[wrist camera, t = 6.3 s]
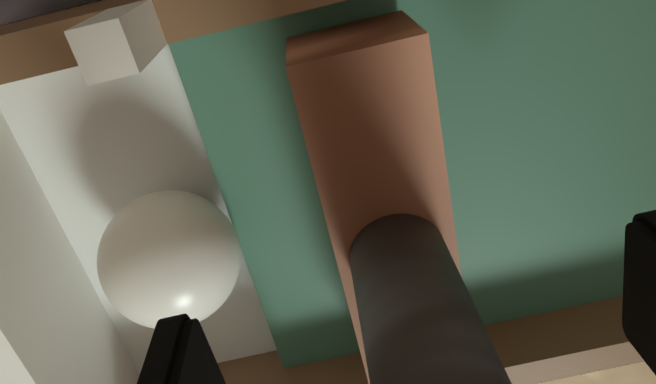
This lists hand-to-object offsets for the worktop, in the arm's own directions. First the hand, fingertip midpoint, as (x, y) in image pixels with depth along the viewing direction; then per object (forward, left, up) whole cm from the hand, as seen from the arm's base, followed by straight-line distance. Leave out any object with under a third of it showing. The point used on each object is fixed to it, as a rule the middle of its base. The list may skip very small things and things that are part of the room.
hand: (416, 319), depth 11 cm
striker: (0, 0, -5) cm, 5 cm away
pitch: (0, 0, -7) cm, 7 cm away
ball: (+6, 0, -5) cm, 8 cm away
